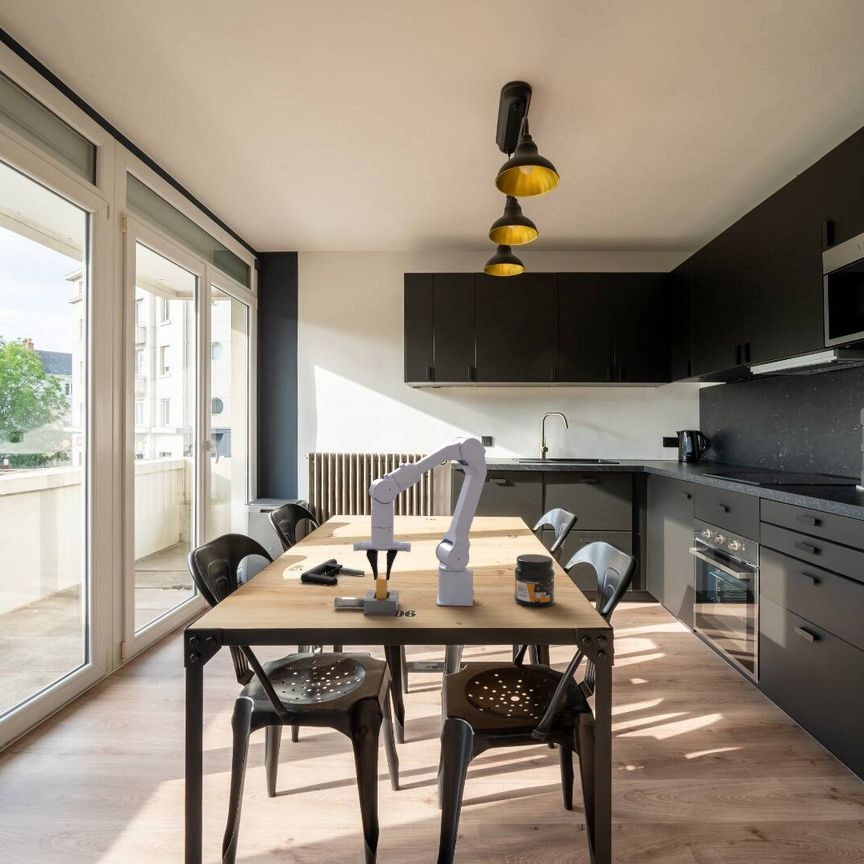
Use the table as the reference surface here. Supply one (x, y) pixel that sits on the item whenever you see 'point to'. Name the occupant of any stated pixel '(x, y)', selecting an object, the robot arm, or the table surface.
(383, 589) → the tall orange cuboid
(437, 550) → the robot arm
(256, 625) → the table surface
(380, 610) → the grey peg hole fixture
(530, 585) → the supplement container
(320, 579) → the door handle
